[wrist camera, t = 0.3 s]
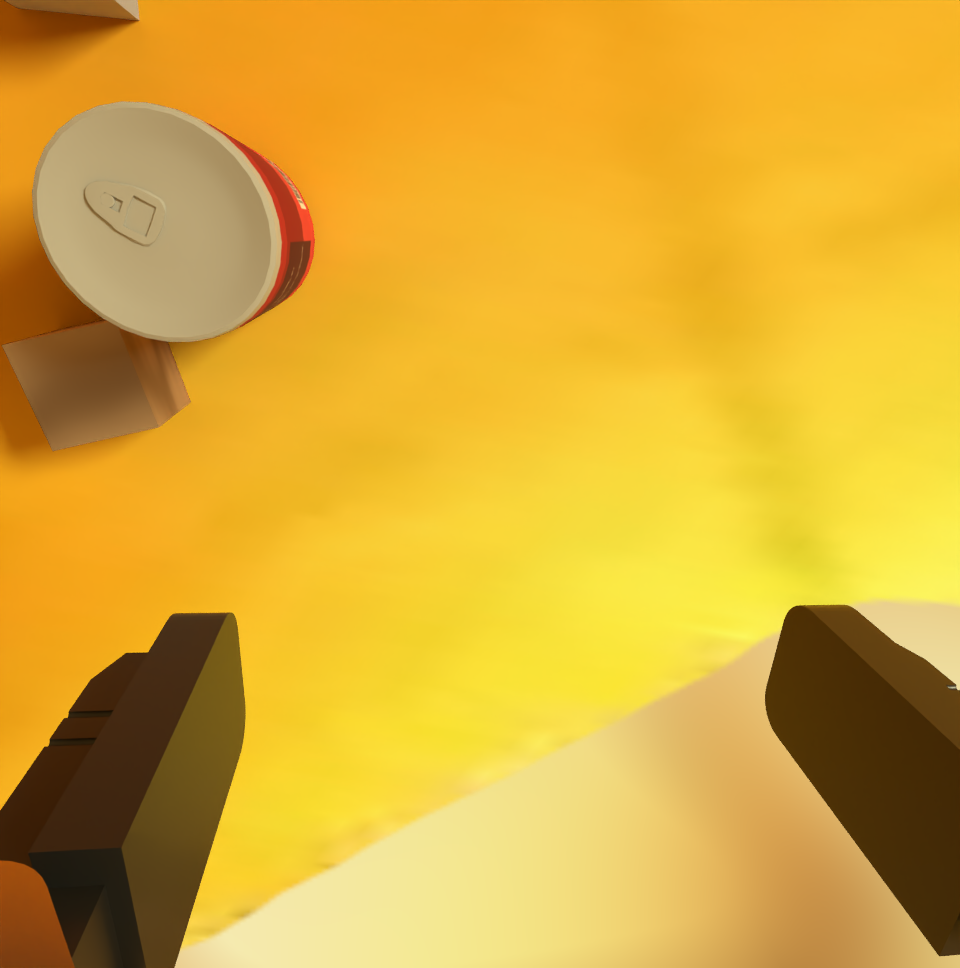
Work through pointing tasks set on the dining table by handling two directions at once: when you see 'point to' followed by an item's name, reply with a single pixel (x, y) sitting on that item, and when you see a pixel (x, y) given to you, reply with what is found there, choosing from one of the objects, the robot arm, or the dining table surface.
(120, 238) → the canned food
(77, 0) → the light grey cube
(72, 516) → the dining table surface
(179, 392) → the walnut block
